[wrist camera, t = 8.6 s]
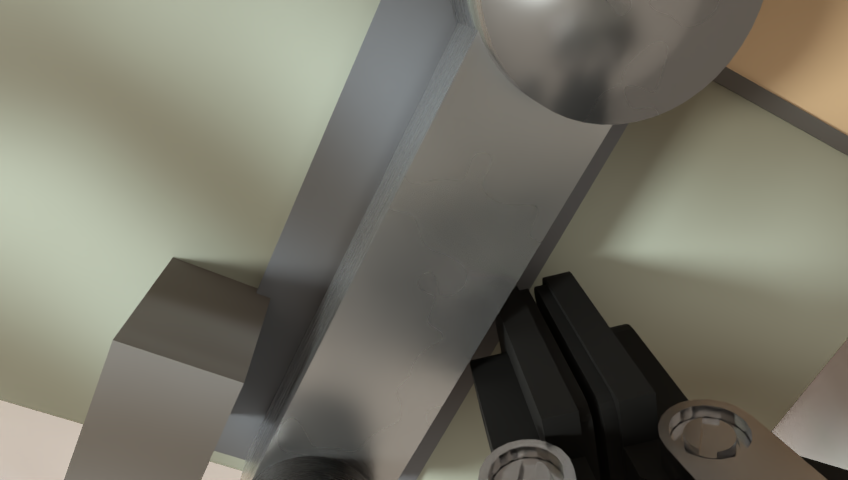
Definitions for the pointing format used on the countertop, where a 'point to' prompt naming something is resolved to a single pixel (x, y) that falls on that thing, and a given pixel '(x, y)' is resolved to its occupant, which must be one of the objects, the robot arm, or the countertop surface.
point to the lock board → (347, 202)
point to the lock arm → (474, 212)
